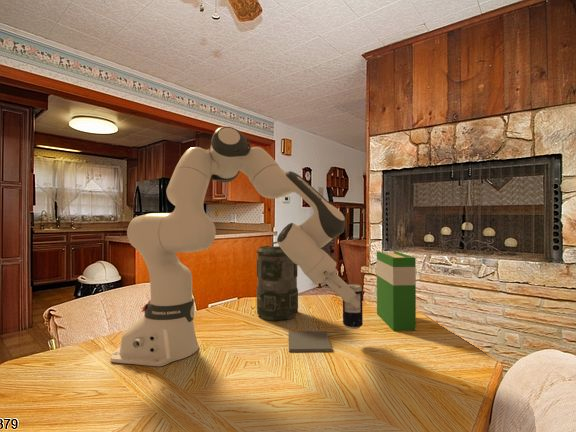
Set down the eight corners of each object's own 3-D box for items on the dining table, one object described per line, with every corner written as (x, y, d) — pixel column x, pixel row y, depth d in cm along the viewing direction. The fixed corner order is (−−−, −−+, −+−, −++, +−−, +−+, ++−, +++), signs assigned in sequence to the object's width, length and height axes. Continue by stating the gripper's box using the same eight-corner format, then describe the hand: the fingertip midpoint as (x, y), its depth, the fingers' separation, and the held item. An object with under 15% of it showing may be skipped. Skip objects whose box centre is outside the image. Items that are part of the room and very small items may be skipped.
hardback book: (376, 313, 120) (376, 251, 119) (396, 313, 120) (395, 251, 120) (393, 331, 102) (393, 257, 102) (415, 330, 102) (415, 257, 102)
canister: (287, 324, 109) (286, 244, 109) (248, 317, 116) (248, 242, 116) (304, 311, 123) (304, 240, 123) (269, 306, 130) (268, 239, 130)
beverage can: (366, 327, 91) (366, 286, 91) (352, 331, 88) (352, 288, 88) (352, 322, 96) (352, 283, 96) (338, 325, 93) (338, 285, 93)
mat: (289, 351, 87) (289, 349, 87) (288, 333, 100) (288, 331, 100) (331, 351, 87) (331, 348, 87) (325, 333, 100) (325, 331, 100)
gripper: (337, 267, 81) (374, 304, 82) (323, 257, 102) (352, 287, 102) (320, 284, 81) (357, 321, 81) (309, 271, 101) (339, 301, 102)
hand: (354, 302), depth 92 cm, fingers closed on beverage can, 6 cm apart
